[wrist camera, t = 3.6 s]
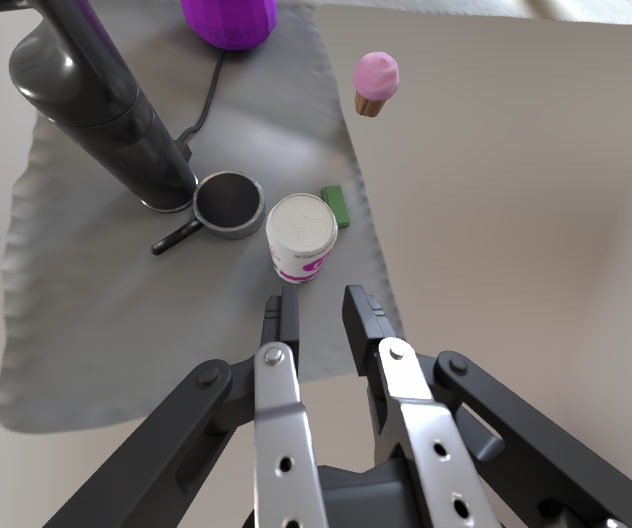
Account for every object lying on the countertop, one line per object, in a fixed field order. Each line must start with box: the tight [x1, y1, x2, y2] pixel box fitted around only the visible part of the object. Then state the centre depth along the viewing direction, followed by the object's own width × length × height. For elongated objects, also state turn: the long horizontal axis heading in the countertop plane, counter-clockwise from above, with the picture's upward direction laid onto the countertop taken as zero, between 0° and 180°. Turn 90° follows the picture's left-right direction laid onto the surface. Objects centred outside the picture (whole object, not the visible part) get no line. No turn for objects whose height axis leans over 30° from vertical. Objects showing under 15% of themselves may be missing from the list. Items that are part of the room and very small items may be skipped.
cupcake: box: [353, 52, 399, 117], centre depth 45 cm, size 9×9×10 cm
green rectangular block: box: [321, 186, 350, 228], centre depth 42 cm, size 8×4×1 cm, turn 12°
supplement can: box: [266, 194, 338, 284], centre depth 32 cm, size 8×8×15 cm
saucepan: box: [150, 171, 266, 255], centre depth 38 cm, size 19×11×4 cm, turn 132°
